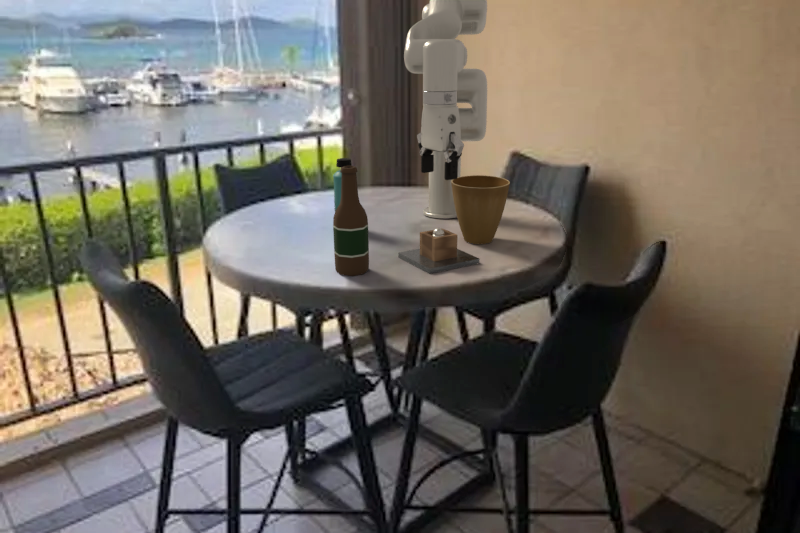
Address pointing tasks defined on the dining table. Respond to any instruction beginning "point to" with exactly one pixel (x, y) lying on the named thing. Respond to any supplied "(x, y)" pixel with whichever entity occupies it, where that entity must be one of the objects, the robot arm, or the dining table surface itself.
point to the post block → (440, 265)
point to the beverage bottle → (339, 180)
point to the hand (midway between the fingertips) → (438, 175)
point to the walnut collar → (438, 245)
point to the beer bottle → (350, 228)
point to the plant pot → (479, 205)
